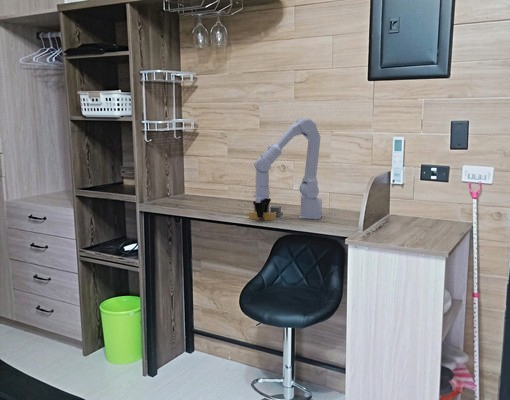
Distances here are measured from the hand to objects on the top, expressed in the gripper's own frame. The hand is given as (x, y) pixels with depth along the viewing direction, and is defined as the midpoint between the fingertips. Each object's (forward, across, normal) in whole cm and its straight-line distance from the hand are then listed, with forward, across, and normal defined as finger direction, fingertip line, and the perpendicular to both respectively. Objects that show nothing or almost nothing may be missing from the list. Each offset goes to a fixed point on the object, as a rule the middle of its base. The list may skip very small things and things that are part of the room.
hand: (262, 216), depth 228 cm
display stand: (+1, -10, 0) cm, 10 cm away
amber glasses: (+1, -1, 0) cm, 2 cm away
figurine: (+2, -26, -7) cm, 27 cm away
